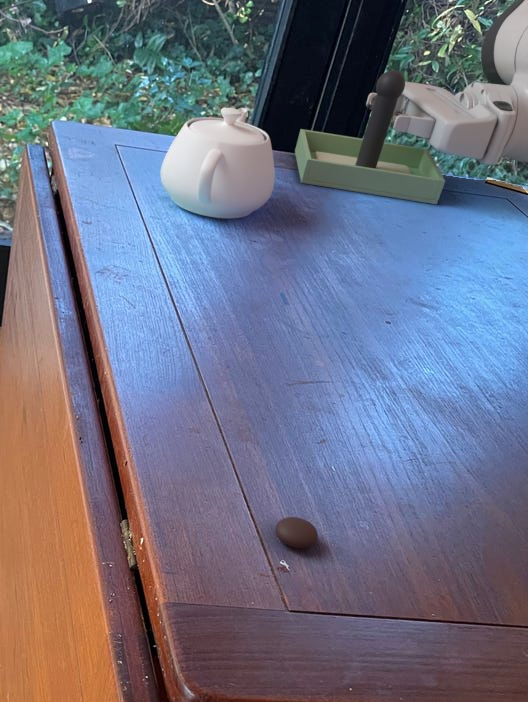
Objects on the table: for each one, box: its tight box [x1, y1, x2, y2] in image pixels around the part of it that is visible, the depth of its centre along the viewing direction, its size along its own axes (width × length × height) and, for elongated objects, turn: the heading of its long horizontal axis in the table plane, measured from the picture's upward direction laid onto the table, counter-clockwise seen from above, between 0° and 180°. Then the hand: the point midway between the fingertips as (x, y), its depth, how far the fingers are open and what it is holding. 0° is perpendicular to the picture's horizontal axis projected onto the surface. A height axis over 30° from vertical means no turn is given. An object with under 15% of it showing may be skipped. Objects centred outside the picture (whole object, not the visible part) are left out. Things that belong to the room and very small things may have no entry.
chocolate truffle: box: [275, 516, 319, 549], centre depth 70 cm, size 3×3×2 cm
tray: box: [294, 128, 446, 205], centre depth 136 cm, size 18×14×3 cm
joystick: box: [315, 69, 411, 174], centre depth 133 cm, size 13×9×13 cm
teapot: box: [159, 107, 276, 219], centre depth 118 cm, size 22×14×11 cm, turn 162°
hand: (381, 111), depth 131 cm, fingers open, 8 cm apart
